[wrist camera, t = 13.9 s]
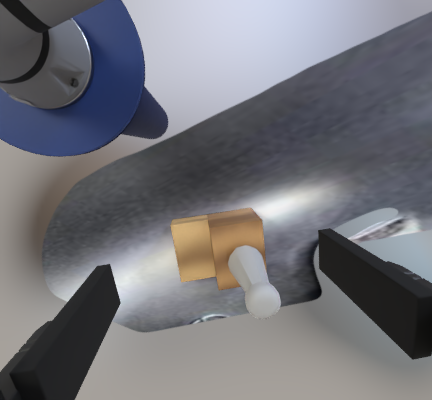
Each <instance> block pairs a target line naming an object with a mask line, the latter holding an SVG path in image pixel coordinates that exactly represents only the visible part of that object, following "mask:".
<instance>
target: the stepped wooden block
mask: <svg viewBox="0 0 432 400" xmlns="http://www.w3.org/2000/svg"><path fill="white" fill-rule="evenodd" d="M171 231H172V236H173V241H174V246H175V252H176V257H177V262H178V267H179V273H180V278H181V282H187V281H192V280H198V279H204V278H210V277H217V283H218V289H219V290H224V289H230V288H235V287H241V286H240V284H239V283H238V281H237V280H236V279H235V277H234V276H233V275H232V273H231V272H230V270H229V266H228V261H229V258H230V255H231V254H232V253H233V251H234V250H235V248H237V247H241V246H245V245H247V246H251V247H253V248H255V249H257V250H258V251H259V252H260V254H261V255H262V257H263V261H264V265H265V269H266V259H265V248H264V236H263V225H262V219H261V218H260V217H259V216H258V215H257V214H256V213H255V212H254V211H253V210H252V209H251V208H246V209H239V210H233V211H226V212H220V213H213V214H207V215H200V216H194V217H187V218H181V219H174V220H172V223H171ZM266 273H267V271H266Z"/></svg>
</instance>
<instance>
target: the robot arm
mask: <svg viewBox="0 0 432 400" xmlns="http://www.w3.org/2000/svg"><path fill="white" fill-rule="evenodd" d="M103 1H105V0H0V88H1V89H2V90H4V91H5V92H6V93H7V94H9V95H10V97H11V98H12V99H14V100H15V101H19V102H22V103H25V104H28V105H30V106H34V107H38V108H42V109H49V110H55V109H63V108H66V107H69V106H71V105H73V104H75V103H76V102H78V101H79V100H80V99H81V98H82V97H83V96H84V95H85V94H86V92H87V91H88V89H89V87H90V85H91V83H92V79H93V75H94V57H93V52H92V49H91V46H90V43H89V41H88V39H87V37H86V35H85V34H84V32H83V30H82V29H81V28H80V26H79V25H78V24H77V23H76V22H75V21H74V20H73V19H72V17H74V16H76V15H78V14H80V13H82V12H84V11H86V10H88V9H90V8H92V7H93V6H95V5H97V4H99V3H101V2H103ZM318 233H319V268H320V270H321V271H322V272H323V273H324V274H325V275H326V276H327V277H328V278H330V279H331V280H332V281H333V282H334V283H335V284H336V285H337V286H338V287H339V288H340V289H341V290H342V291H343V292H344V293H345V294H346V295H347V296H348V297H349V298H350V299H351V300H352V301H353V302H354V303H355V304H356V305H357V306H358V307H359V308H360V309H361V310H362V311H363V312H364V313H365V314H367V316H368V317H369V318H371V319H372V320H373V321H374V322H375V323H376V324H377V325H378V326H379V327H380V328H381V329H382V330H383V331H384V332H385V333H386V334H387V335H388V336H389V337H390V338H391V339H392V340H393V341H394V342H395V343H396V344H397V345H398V346H399V347H400V348H401V349H402V350H403V351H404V352H405V353H406V354H408V356H409V357H411V358H412V359H418V358H422V357H428V356H431V354H432V283H430V282H429V281H427V280H425V279H422V278H421V277H420V276H418V275H416V274H415V273H412V272H411V271H409V270H408V269H406V268H404V267H403V266H400V265H398V264H395V263H392V262H389V261H388V262H385V261H383V260H382V259H380V258H378V257H377V256H375V255H373V254H372V253H370V252H368V251H367V250H365V249H363V248H362V247H360V246H358V245H357V244H355V243H353V242H352V241H350V240H348V239H347V238H345V237H343V236H342V235H340V234H338V233H337V232H335V231H333V230H332V229H330V228H329V229H323V230H318ZM119 305H120V299H119V295H118V292H117V288H116V284H115V281H114V277H113V273H112V269H111V266H110V264H107V265H101V266H97V267H96V268H95V269H94V271H93V272H92V273H91V274H90V276H89V277H88V278H87V279H86V280H85V282H84V283H83V284H82V285H81V286H80V288H79V289H78V290H77V291H76V293H75V294H74V295H73V296H72V297H71V299H70V300H69V301H68V302H67V304H66V305H65V306H64V307H63V308H62V310H61V311H60V312H59V313H58V315H57V316H56V317H55V318H54V320H53V321H48V322H47V323H45V324H44V325H43V326H41V327H40V328H39V329H38V330H36V331H35V332H34V334H33V335H32V336H31V337H30V338H29V339H28V340H27V343H26V344H24V345H23V346H22V347H21V349H20V350H19V352H18V353H16V354H15V355H14V357H13V358H12V359H11V360H10V361H9V362H8V364H7V365H6V366H5V367H4V368H3V369H2V371H1V372H0V400H75V398H76V396H77V394H78V392H79V389H80V387H81V385H82V383H83V381H84V379H85V377H86V375H87V373H88V370H89V368H90V366H91V364H92V362H93V360H94V358H95V356H96V353H97V352H98V349H99V347H100V345H101V343H102V341H103V339H104V337H105V335H106V333H107V330H108V328H109V326H110V324H111V322H112V320H113V318H114V316H115V314H116V312H117V309H118V307H119Z"/></svg>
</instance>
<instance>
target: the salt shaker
mask: <svg viewBox="0 0 432 400" xmlns="http://www.w3.org/2000/svg"><path fill="white" fill-rule="evenodd" d="M228 266H229V270H230V272H231V273H232V275H233V276H234V277H235V279H236V280H237V281H238V283H239V284H240V286H241V287H242V288H243V290H244V291H245V293H246V295H245V302H246V307H247V309H248V311H249V312H250V313H251V315H252V316H254V317H256V318H259V319H267V318H269V317H271V316H273V315H275V313H276V312H277V311H278V310H279V308H280V305H281V301H280V296H279V293H278V292H277V290H276V289H275V288H274V287H273V285H271V284H269V280H268V276H267V273H266V269H265V265H264V261H263V257H262V255H261V254H260V252H259V251H258V250H257V249H255V248H253V247H251V246H247V245H245V246H241V247H237V248H235V250H234V251H233V253H232V254H231V255H230V258H229V261H228Z"/></svg>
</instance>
